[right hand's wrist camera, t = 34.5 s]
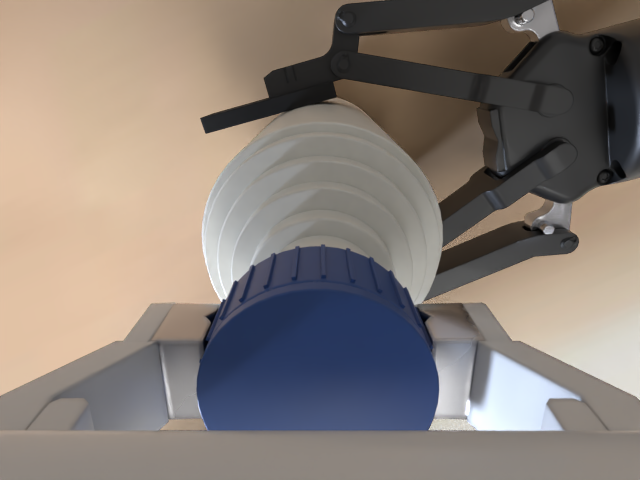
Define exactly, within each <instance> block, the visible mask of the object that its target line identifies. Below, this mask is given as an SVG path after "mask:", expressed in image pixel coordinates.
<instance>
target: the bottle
mask: <svg viewBox="0 0 640 480" xmlns="http://www.w3.org/2000/svg"><path fill="white" fill-rule="evenodd" d="M442 243H443V224H442V218H441V212H440V208H439V205H438V202H437V198H436V195H435V193H434V191H433V189H432V187H431V185H430V183H429V181H428V179H427V178H426V176H425V175H424V173H423V172H422V170H421V169H420V168H419V166H418V165H417V164H416V163H415V162H414V161H413V160H412V159H411V157H410V156H409V155H408V154H407V153H406V152H405V151H404V150H403V149H402V148H401V147H400V146H399V145H397V144H396V143H395V142H394V141H393V140H392V139H391V138H390V137H389V136H388V135H387V134H386V133H385V132H384V131H383V130H382V129H381V128H380V127H379V126H378V125H377V124H376V123H375V122H374V121H373V120H372V119H371V118H370V117H369V116H368V115H367V114H366V113H365V112H364V111H363V110H361V109H360V108H359V107H357V106H356V105H354V104H353V103H350V102H348V101H346V100H343V99H340V98H337V97H336V98H333V99H329V100H326V101H322V102H318V103H315V104H311V105H307V106H304V107H300V108H297V109H293V110H289V111H286V112H282V113H280V114H279V115H278V116H277V117H276V118H275V119H274V120H273V121H272V122H271V123H270V124H269V125H268V126H267V127H266V128H264V129H263V130H262V131H261V132H260V133H259V134H258V135H257V136H256V137H255V138H254V139H253V140H252V141H251V142H250V143H249V144H248V145H247V146H246V147H244V148H243V149H242V150H241V151H240V152H239V153H238V154H237V155H236V156H235V157H234V158H233V159H232V160H231V161H230V162H229V163H228V165H227V166H226V167H225V169H224V170H223V171H222V173H221V174H220V176H219V177H218V179H217V181H216V183H215V184H214V186H213V188H212V190H211V192H210V195H209V198H208V201H207V203H206V207H205V212H204V216H203V224H202V244H203V252H204V257H205V262H206V265H207V269H208V273H209V276H210V279H211V281H212V284H213V287H214V289H215V291H216V292H217V294H218V296H219V298H220V300H221V301H222V300H223V299H225V300H226V298H227V297H228V295H229V292H230V290H231V287H232V285H233V282H234V281H235V280H236V281H238V280H239V279H240V278H241V277H242V276H243V275H244V274H245V273H246V272H247V271H249V268H250V266H251V265H254V266H255V265H257V264H258V263H260V262H262V261H263V260H265V259H267V258H269V257H271V254H272V253H275V254H278V253H281V252H283V251H287V250H291V249H295V247H296V246H299V247H300V248H302V247H309V246H321V244H325V246H326V247H335V248H341V249H345V250H346V248H349V249H350V250H351V251H353V252H355V253H358V254H360V255H363V256H365V257H367V258H370V257H372V258H374V261H375V262H377V263H378V264H379V265H381V266H382V267H384V268H385V269H386V270H388V271H390V270H391V271H392V272H393V274H394V276H395V278H396V279H397V280H398V282H399V283H400V284H401V285H402V287H403V288H405V287H406V288H407V289H408V291H409V294H410V296H411V299H412V301H413V303H414V305H416V304H422V303H423V301H424V299H425V297H426V296H427V294H428V292H429V290H430V288H431V286H432V283H433V281H434V278H435V275H436V271H437V268H438V265H439V261H440V257H441V252H442Z"/></svg>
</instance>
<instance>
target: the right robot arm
mask: <svg viewBox="0 0 640 480" xmlns="http://www.w3.org/2000/svg"><path fill="white" fill-rule="evenodd" d="M220 305H221V304H189V303H177V304H176V303H153V304H150V306H149V307H148V308H147V310H146V311H145V312H144V314H143V315H142V316H141V318H140V319H139V320H138V322H137V323H136V324H135V326H134V327H133V328H132V330H131V331H130V332H129V334H128V335H127V337H126V338H125V339H124V341H115V342H113V343H111V344H109V345H107V346H105V347H102V348H100V349H98V350H96V351H94V352H92V353H90V354H88V355H86V356H83V357H81V358H79V359H77V360H75V361H73V362H71V363H69V364H67V365H64V366H62V367H60V368H58V369H56V370H54V371H52V372H50V373H48V374H46V375H43V376H41V377H39V378H37V379H35V380H33V381H31V382H29V383H27V384H24V385H22V386H20V387H18V388H16V389H14V390H12V391H10V392H8V393H5V394H3V395H1V396H0V480H640V400H639V399H638V398H637V397H635V396H633V395H631V394H629V393H627V392H625V391H622V390H620V389H618V388H616V387H614V386H612V385H610V384H608V383H606V382H604V381H602V380H600V379H598V378H595V377H593V376H591V375H589V374H587V373H585V372H583V371H581V370H579V369H577V368H575V367H573V366H570V365H568V364H566V363H564V362H562V361H560V360H558V359H556V358H554V357H552V356H550V355H548V354H546V353H543V352H541V351H539V350H537V349H535V348H533V347H531V346H529V345H527V344H525V343H523V342H521V341H512V340H511V338H510V337H509V336H508V334H507V333H506V332H505V330H504V329H503V327H502V326H501V325H500V323H499V322H498V321H497V319H496V318H495V317H494V315H493V314H492V312H491V311H490V310H489V308H488V307H487V306H486V304H484V303H463V304H462V303H442V304H416V305H414V306H416V307H417V309H418V312H419V314H420V317H421V319H422V321H423V324H424V326H425V329H426V331H427V334H428V336H429V338H430V341H431V343H432V346H433V349H431V353H432V355H433V358H434V360H435V363H436V367H437V371H438V376H439V399H438V405H437V409H436V412H435V416H434V418H435V419H467V422H469V423H470V424H471V425H472V426H473V427H474V428H475V429H476V430H160V429H161V428H162V427H163V426H164V425H165V424H166V423H168V422H169V420H168V419H200V418H202V417H201V413H200V410H199V406H198V401H197V392H196V388H197V375H198V370H199V365H200V363H199V361H200V359H202V357H203V354H204V352H205V349H206V347H207V345H208V342H209V341H207V340H206V338H207V336H208V333H209V331H210V328H211V326H212V324H213V321H214V319H215V317H216V314H217V312H218V309H219V307H220Z"/></svg>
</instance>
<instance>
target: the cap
mask: <svg viewBox="0 0 640 480" xmlns="http://www.w3.org/2000/svg"><path fill="white" fill-rule="evenodd" d="M206 340H207V341H209V342H208V345H207V347H206V349H205V352H204V354H203V357H202V359H200V361H199V363H200V365H199V370H198V375H197V388H196V392H197V401H198V406H199V410H200V413H201V417H202V419H203V422H204V424H205V426H206V428H207V430H428V429H429V428H430V425H431V423H432V421H433V419H434V416H435V412H436V409H437V405H438V399H439V376H438V371H437V367H436V363H435V360H434V358H433V355H432V353H431V349H433V346H432V343H431V341H430V338H429V336H428V334H427V331H426V329H425V326H424V324H423V321H422V319H421V317H420V314H419V312H418V309H417V307H416V306H414V303H413V301H412V299H411V296H410V294H409V291H408V289H407V288H406V287H405V288H403V287H402V285H401V284H400V283H399V282H398V280H397V279H396V278H395V276H394V274H393V272H392V271H391V270H390V271H388V270H386V269H385V268H384V267H382V266H381V265H379V264H378V263H377V262H375V261H374V258H372V257H370V258H367V257H365V256H363V255H360V254H358V253H355V252H353V251H351V250H350V249H349V248H346V250H345V249H341V248H335V247H326V246H325V244H321V246H309V247H302V248H300V247H299V246H296V247H295V249H291V250H287V251H283V252H281V253H278V254H275V253H272V254H271V257H269V258H267V259H265V260H263V261H262V262H260V263H258V264H257V265H255V266H254V265H251V266H250V268H249V271H247V272H246V273H245V274H244V275H243V276H242V277H241V278H240V279H239V280H238V281H236V280H235V281H234V282H233V285H232V287H231V290H230V292H229V295H228V297H227V298H226V300H225V299H223V300H222V302H221V305H220V307H219V309H218V312H217V314H216V317H215V319H214V321H213V324H212V326H211V328H210V331H209V333H208V336H207V338H206Z"/></svg>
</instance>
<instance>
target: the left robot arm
mask: <svg viewBox="0 0 640 480" xmlns="http://www.w3.org/2000/svg"><path fill="white" fill-rule="evenodd" d="M497 21H500V22H501V25H502V27H503V29H504V30H505V31H507V32H508V33H515V32H523V33H525V34H527V35H528V36H529V38H530V42H529V43H528V44H527V45H526V47H525V48H524V49H523V50H522V51H521V52H520V53H519V54H518V55H517V57H516V58H515V59H514V60H513V61H512V62H511V63H510V64H509V65H508V67H507V68H506V69H505V70H504V71H503V72H502V73H501V74H500V76H499V77H497V76H491V75H484V74H476V73H471V72H465V71H459V70H453V69H448V68H442V67H436V66H431V65H425V64H419V63H413V62H408V61H402V60H396V59H391V58H385V57H379V56H373V55H368V54H362V53H358V44H359V36H370V35H381V34H393V33H404V32H416V31H427V30H439V29H450V28H462V27H473V26H480V25H486V24H489V23H493V22H497ZM340 79H348V80H354V81H360V82H366V83H372V84H377V85H383V86H389V87H395V88H401V89H407V90H412V91H418V92H424V93H430V94H436V95H441V96H447V97H453V98H459V99H465V100H471V101H476V102H481V104H480V107H478V108H477V115H478V122H479V125H480V127H481V129H482V131H483V134H484V145H483V157H484V164H485V166H484V167H483V168H481V169H480V170H479V171H477V172H476V173H475V174H473V175H472V176H471V178H470V180H469V181H468V182H467V183H466V184H465V185H463V186H462V187H461V188H459V189H458V190H457V191H455V192H454V193H453V194H451V195H450V196H448V197H447V198H446V199H444V200H443V201H442V202H440V203H439V204H438V205H439V208H440V212H441V218H442V224H443V243H442V247H444V246H445V245H447V244H448V243H449V242H451V241H452V240H454V239H455V238H457V237H458V236H459V235H461V234H462V233H464V232H465V231H467V230H468V229H469V228H471V227H472V226H474V225H475V224H477V223H478V222H479V221H481V220H482V219H484V218H485V217H487V216H488V215H489V214H491V213H492V212H494V211H495V210H499V209H504V208H506V207H508V206H510V205H511V204H513V203H514V202H516V201H517V200H518V199H520V198H521V197H523V196H524V195H526V194H527V193H528V192H530V193H532V194H535V195H537V196H540V197H542V198H545V199H546V200H545V203H544V205H543V206H542V207H541V208H540V209H538V210H536V211H533V212H529V213H527V214H526V215H525V221H519V222H515V223H511V224H508V225H505V226H502V227H500V228H497V229H495V230H493V231H490V232H488V233H485V234H483V235H481V236H478V237H476V238H473V239H471V240H469V241H466V242H464V243H462V244H459V245H457V246H454V247H452V248H450V249H447V250H445V251H442V252H441V257H440V261H439V265H438V268H437V271H436V275H435V278H434V281H433V283H432V286H431V288H430V290H429V292H428V294H427V296H426V297H425V299H424V301H426V300H428V299H431V298H433V297H436V296H438V295H440V294H443V293H445V292H448V291H450V290H453V289H455V288H458V287H460V286H463V285H465V284H468V283H470V282H473V281H475V280H478V279H480V278H483V277H485V276H487V275H490V274H492V273H495V272H497V271H500V270H502V269H505V268H507V267H510V266H512V265H515V264H517V263H520V262H522V261H525V260H527V259H529V258H532V257H535V256H547V255H559V254H568V253H571V252H573V251H574V250H575V249H576V248H577V247H578V243H579V239H578V237H577V235H575V234H574V233H572V232H571V231H570V220H571V210H572V202H574V201H576V200H578V199H580V198H581V197H582V196H583V195H585V194H586V193H587V192H589V191H590V190H592V189H594V188H596V187H599V186H603V185H609V184H615V183H620V182H624V181H628V180H632V179H637V178H640V18H639V19H636V20H632V21H628V22H625V23H621V24H617V25H614V26H610V27H607V28H603V29H599V30H596V31H592V32H588V33H585V34H574V33H570V32H567V31H560V30H559V26H558V22H557V18H556V14H555V10H554V6H553V2H552V0H385V1H374V2H363V3H352V4H346V5H342V6H341V7H340V8H339V9H338V11H337V13H336V15H335V19H334V27H333V39H332V46H331V48H330V50H329V51H328V53H326V54H325V55H324V56H322V57H319V58H316V59H312V60H309V61H305V62H302V63H298V64H295V65H291V66H288V67H284V68H281V69H277V70H274V71H272V72H270V73H269V74H268V75H267V76H266V77H264V81H265V84H266V88H267V91H268V95H269V98H266V99H263V100H259V101H256V102H252V103H249V104H245V105H241V106H238V107H234V108H231V109H227V110H224V111H220V112H217V113H213V114H210V115H208V116H205V117H202V118H200V119H201V122H202V124H203V127H204V130H205V133H206V134H207V133H210V132H214V131H217V130H221V129H225V128H228V127H232V126H235V125H239V124H243V123H246V122H250V121H253V120H257V119H261V118H264V117H268V116H271V115H275V114H279V113H282V112H286V111H289V110H293V109H297V108H300V107H304V106H307V105H311V104H315V103H318V102H322V101H326V100H329V99H333V98H336V92H335V88H334V84H333V81H337V80H340Z"/></svg>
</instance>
